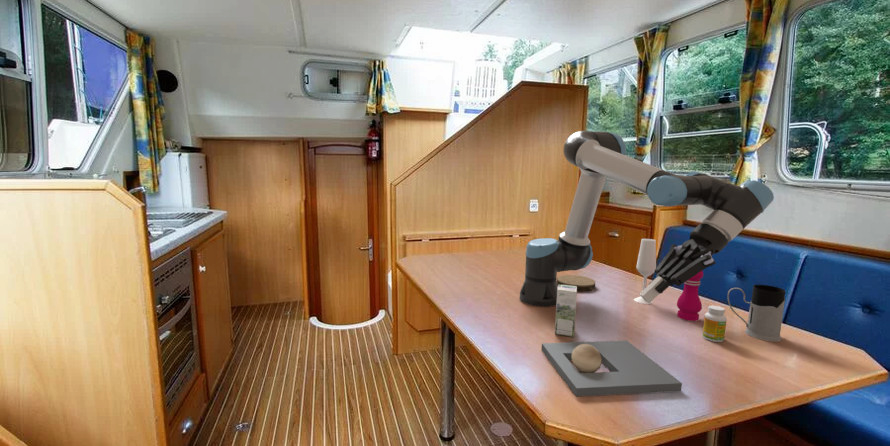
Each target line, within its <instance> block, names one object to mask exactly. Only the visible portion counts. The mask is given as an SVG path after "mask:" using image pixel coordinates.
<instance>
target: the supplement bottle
mask: <svg viewBox="0 0 890 446" xmlns="http://www.w3.org/2000/svg"><path fill="white" fill-rule="evenodd" d="M707 311H708V312H705V314H704V318H703V319H704V320H703V329H702V338H704V339H705V340H707V341H709V342H715V343H723V342H724V341H725V335H726V330H727V329H726V326H727V316H726V315H725V311H726V310H725V308H724V307H722V306H718V305H708V309H707Z"/></svg>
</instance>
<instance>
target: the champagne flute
mask: <svg viewBox="0 0 890 446" xmlns="http://www.w3.org/2000/svg"><path fill="white" fill-rule="evenodd" d="M656 245H657V243H656V239H652V238H641V241H640V247H639V251H638V255H637V263H636V267H635V268H636V270H637V272H638V273H639V274H640V275H641V276H642V277H643V279H642V290H641V292H642V291H643V290H644V289H645V288H646V287H647V282H648V277H650V276H651V275H653V274H654V273H655V272H654V270H655V269H656V268H657V246H656ZM633 301H634V302H636V303H638V302H639V304H643V305H644V304H645V305H650V304H651V303H652V304H654V302H653V300H652V301H651V302H650V303H648V302H646V301H645V300H644V299H643V298H642V297H641V296H640V295H639V296H638V297H635V298H634V299H633ZM652 304H651V305H652Z"/></svg>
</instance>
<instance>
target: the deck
mask: <svg viewBox="0 0 890 446" xmlns="http://www.w3.org/2000/svg"><path fill="white" fill-rule="evenodd" d="M581 344H589V345H592V346H593V347H595V348H596V349H597V350H598V351H599V353H600V355H601V359H602V362H601V364H603V365H604V366H605V367H606V369H608V370H609V371H603V372H600V371H599V372H598V371H596V372H594V373H582V372H580V371H578V370H577V369H576V368H575V366H574V365H573V363H571V362H572V352H573V350H574V349H575V348H576V347H577V346H578V345H581ZM541 352H542V353H543V354H544V355H545V357H546V358H547V360H548V361H549V362H550V363H551V365H552V366H553V368H554V369H555V370H556V372H557V373H558V374H559V376H560V377H561V378H562V380H563V381H564V383H565V384H566V386H567V387H568V388H569V389H570V390H571V392H572V393H573V395H574V396H575V397H592V396H593V397H594V396H611V395H612V396H613V395H631V394H633V395H634V394H650V393H651V394H653V393H654V394H655V393H673V392H674V393H675V392H682V385H683V383H682V382H681V380H679V379H677V378H676V377H675V376H674V375H672V374H671V373H670V372H669V371H667V370H666V369H664V368H663V367H662V366H661V365H660V364H658V363H657V362H655V361H654V360H653V359H652V358H650V357H649V356H648V355H647V354H645V353H644V352H642V351H641V350H640V349H639V348H637V347H636V346H635V345H633V344H632V343H631V342H630V341H628V340H600V341H599V340H597V341H574V342H573V341H572V342H570V341H569V342H546V343H545V342H543V343H541Z"/></svg>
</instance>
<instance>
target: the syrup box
mask: <svg viewBox="0 0 890 446" xmlns="http://www.w3.org/2000/svg"><path fill="white" fill-rule="evenodd" d="M577 296H578V292H577V286H568V285H558V288H557V303H556V305H555V306H556V307H555V308H556V309H555V322H554V323H555V325H554V334H555V335H559V336H565V337H572V338H573V337H575V326H576V312H577Z"/></svg>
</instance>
